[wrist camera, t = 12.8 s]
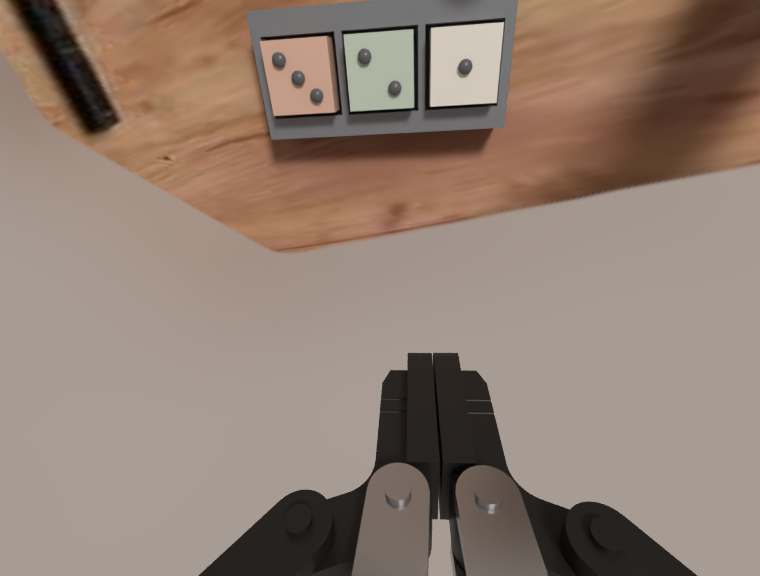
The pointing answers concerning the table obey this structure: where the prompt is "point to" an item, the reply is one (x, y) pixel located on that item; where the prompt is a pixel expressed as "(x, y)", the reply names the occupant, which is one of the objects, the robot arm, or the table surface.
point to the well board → (421, 13)
